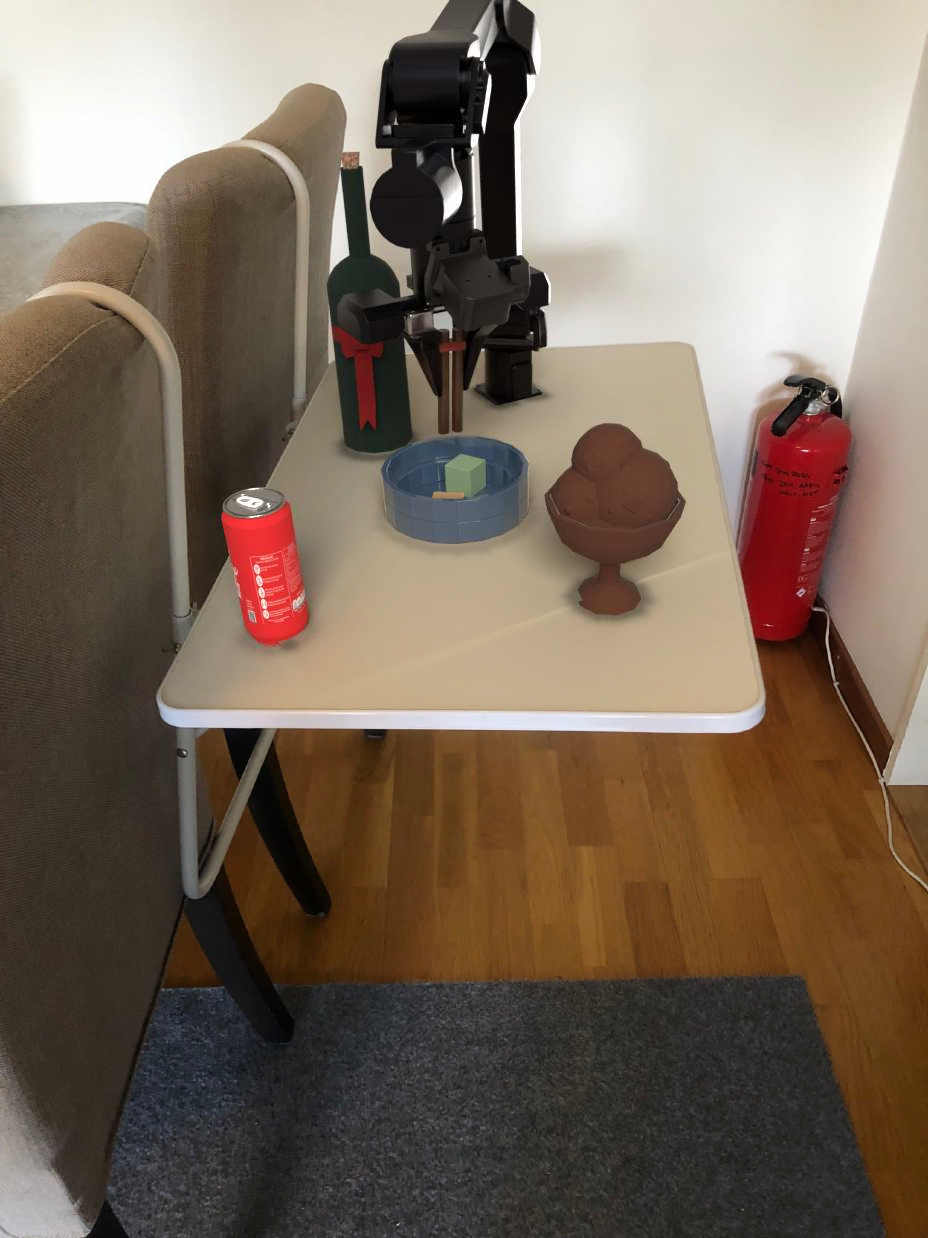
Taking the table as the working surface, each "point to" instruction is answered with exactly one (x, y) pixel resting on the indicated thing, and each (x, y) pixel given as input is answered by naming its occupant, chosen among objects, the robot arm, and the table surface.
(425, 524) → the bowl
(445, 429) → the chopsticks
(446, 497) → the beech block
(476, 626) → the table surface
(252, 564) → the beverage can
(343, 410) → the wine bottle
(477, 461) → the sage block
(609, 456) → the ice cream bowl
